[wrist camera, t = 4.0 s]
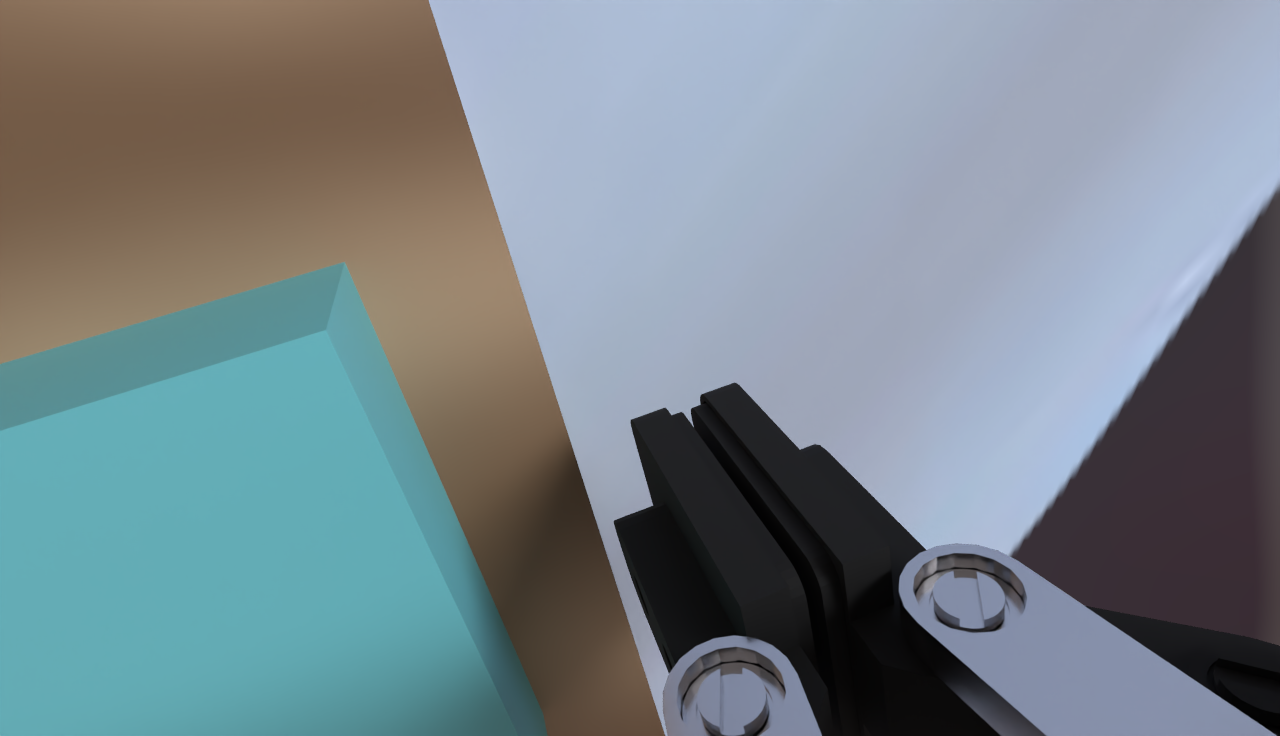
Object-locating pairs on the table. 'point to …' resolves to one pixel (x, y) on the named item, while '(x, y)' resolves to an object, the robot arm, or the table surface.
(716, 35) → the table surface
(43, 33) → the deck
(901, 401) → the table surface
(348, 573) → the turquoise foam pad
